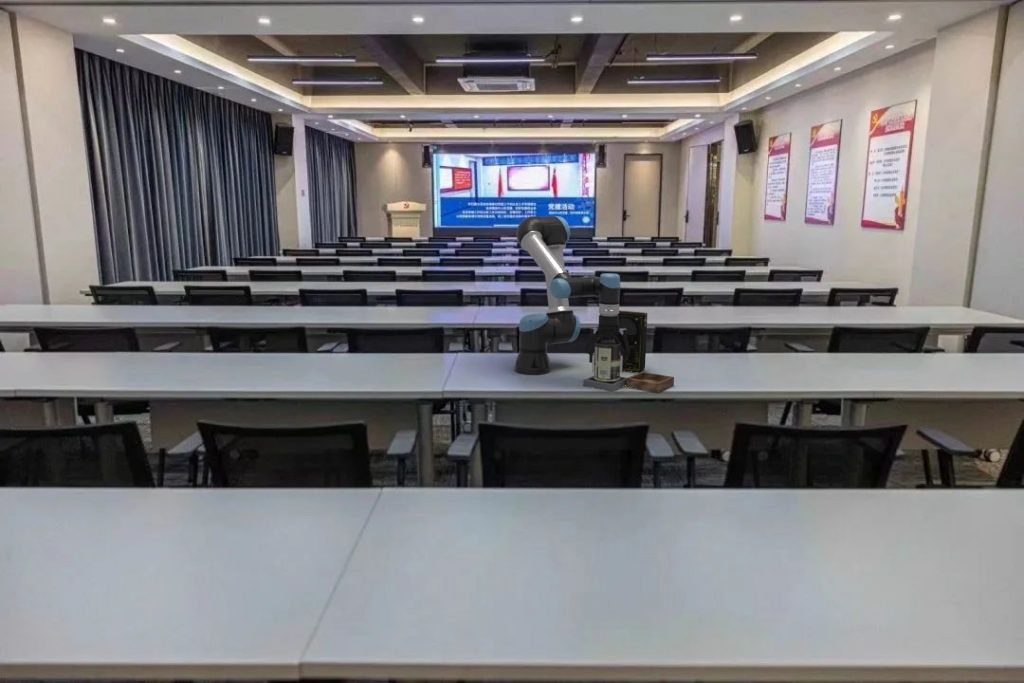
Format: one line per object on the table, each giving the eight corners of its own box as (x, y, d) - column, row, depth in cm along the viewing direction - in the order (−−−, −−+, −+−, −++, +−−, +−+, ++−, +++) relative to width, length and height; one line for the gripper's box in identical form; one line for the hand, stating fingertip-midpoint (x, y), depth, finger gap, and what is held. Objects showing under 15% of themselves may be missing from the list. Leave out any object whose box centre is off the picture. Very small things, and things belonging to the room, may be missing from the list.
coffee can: (616, 374, 271) (618, 339, 268) (622, 381, 261) (624, 345, 258) (590, 375, 270) (592, 340, 268) (595, 381, 260) (597, 345, 257)
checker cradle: (583, 385, 265) (583, 379, 265) (600, 379, 275) (600, 373, 275) (612, 391, 257) (613, 385, 257) (629, 384, 267) (629, 378, 267)
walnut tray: (625, 387, 264) (626, 378, 263) (642, 380, 274) (642, 371, 273) (658, 393, 256) (658, 384, 255) (673, 385, 266) (674, 376, 265)
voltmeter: (605, 369, 291) (607, 311, 286) (612, 365, 298) (614, 308, 293) (641, 374, 283) (643, 314, 278) (647, 369, 291) (649, 311, 286)
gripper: (578, 315, 258) (577, 372, 263) (639, 317, 256) (636, 374, 260) (579, 312, 266) (577, 367, 270) (638, 313, 263) (636, 370, 267)
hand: (606, 371), depth 265 cm, fingers closed on coffee can, 10 cm apart
